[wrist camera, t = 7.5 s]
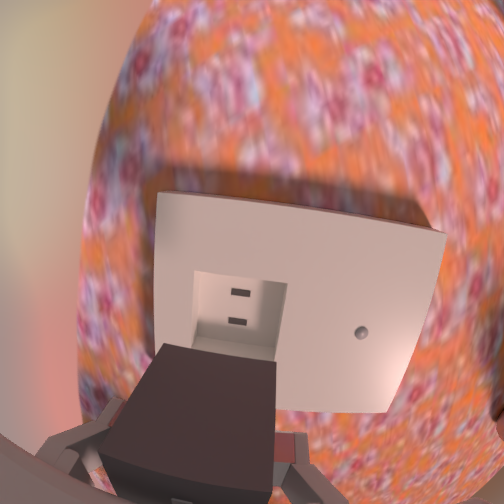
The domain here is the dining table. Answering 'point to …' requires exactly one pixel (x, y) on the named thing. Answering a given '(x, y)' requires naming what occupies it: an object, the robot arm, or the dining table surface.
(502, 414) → the plastic bottle
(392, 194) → the dining table surface
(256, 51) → the dining table surface
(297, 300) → the outlet plate
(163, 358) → the block
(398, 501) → the dining table surface
